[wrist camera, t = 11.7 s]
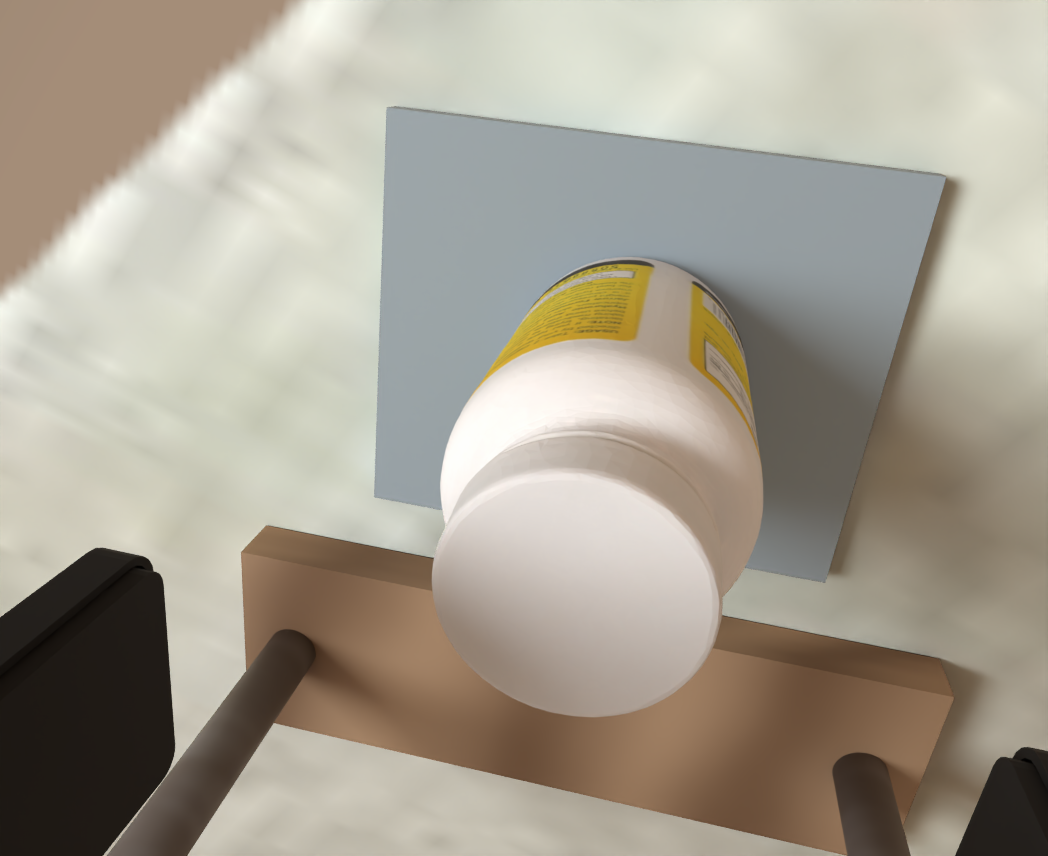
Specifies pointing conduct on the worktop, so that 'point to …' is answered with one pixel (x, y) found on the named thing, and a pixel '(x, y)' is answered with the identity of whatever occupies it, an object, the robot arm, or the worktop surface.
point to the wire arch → (555, 739)
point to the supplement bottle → (601, 493)
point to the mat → (664, 235)
